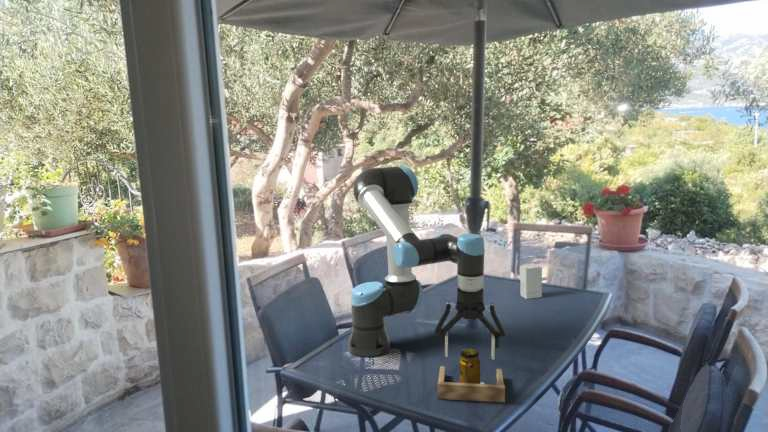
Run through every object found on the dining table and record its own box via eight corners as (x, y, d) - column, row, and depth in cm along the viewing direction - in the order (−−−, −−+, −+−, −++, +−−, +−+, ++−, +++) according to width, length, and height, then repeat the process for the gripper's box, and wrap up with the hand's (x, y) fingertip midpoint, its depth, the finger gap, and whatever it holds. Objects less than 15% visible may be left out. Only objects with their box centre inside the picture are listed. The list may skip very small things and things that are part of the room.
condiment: (456, 384, 151) (456, 347, 149) (483, 382, 152) (483, 345, 150) (461, 396, 144) (461, 358, 142) (490, 395, 145) (490, 356, 143)
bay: (437, 398, 143) (437, 384, 143) (440, 375, 158) (440, 361, 157) (504, 402, 140) (504, 387, 140) (501, 378, 154) (501, 364, 154)
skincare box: (535, 293, 234) (536, 263, 232) (542, 297, 228) (543, 266, 226) (519, 295, 232) (519, 264, 230) (525, 299, 226) (526, 268, 224)
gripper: (426, 290, 142) (426, 359, 145) (515, 293, 137) (513, 364, 141) (428, 282, 149) (428, 348, 153) (513, 285, 145) (511, 352, 149)
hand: (469, 356), depth 147 cm, fingers open, 13 cm apart
